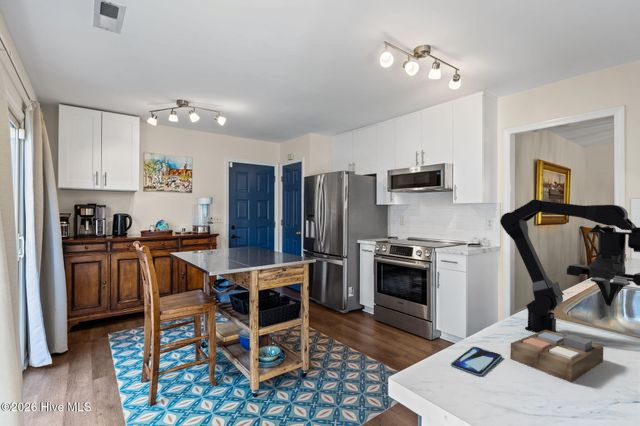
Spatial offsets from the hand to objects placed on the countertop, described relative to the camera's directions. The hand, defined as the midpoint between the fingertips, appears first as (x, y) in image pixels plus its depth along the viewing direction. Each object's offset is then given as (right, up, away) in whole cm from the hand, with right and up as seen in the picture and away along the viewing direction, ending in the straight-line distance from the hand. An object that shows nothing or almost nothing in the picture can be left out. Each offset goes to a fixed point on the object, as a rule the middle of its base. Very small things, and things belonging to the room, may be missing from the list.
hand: (609, 305), depth 90 cm
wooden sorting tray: (-21, -12, -8) cm, 25 cm away
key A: (-22, -10, -13) cm, 28 cm away
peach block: (-25, -10, -8) cm, 28 cm away
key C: (-19, -10, -3) cm, 22 cm away
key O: (-15, -9, -8) cm, 20 cm away
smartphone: (-42, -12, -10) cm, 44 cm away
